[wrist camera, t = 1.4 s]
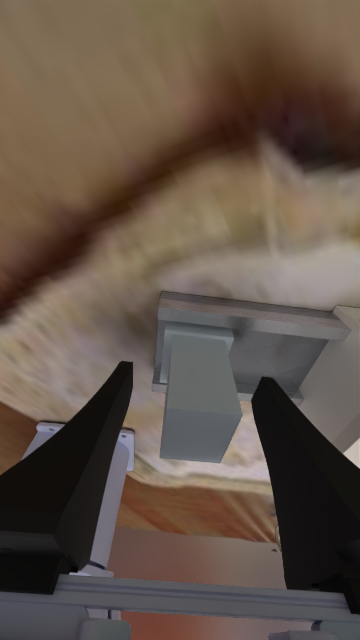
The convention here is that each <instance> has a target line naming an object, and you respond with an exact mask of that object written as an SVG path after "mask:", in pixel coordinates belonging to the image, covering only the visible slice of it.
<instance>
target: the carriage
mask: <svg viewBox="0 0 360 640" xmlns="http://www.w3.org/2000/svg"><path fill="white" fill-rule="evenodd" d="M233 340H234V336H233V332H232V329H231V328H227V327H219V326H210V325H202V324H193V323H185V322H176V321H167V320H166V326H165V335H164V344H163V354H162V363H161V373H160V383H167V387H166V397H165V408H164V418H163V428H162V438H161V448H160V458H166V459H177V460H189V461H200V462H211V463H220V462H221V460H222V458H223V456H224V454H225V452H226V450H227V447H228V445H229V443H230V441H231V439H232V437H233V435H234V432H235V430H236V428H237V426H238V424H239V422H240V420H241V417H242V411H241V407H240V402H239V398H238V394H237V389H236V385H235V381H234V377H233V372H232V368H231V364H230V360H229V352H230V349H231V346H232V343H233Z"/></svg>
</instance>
